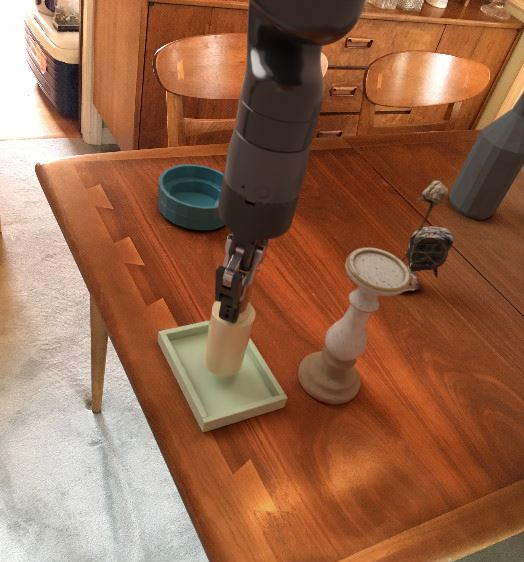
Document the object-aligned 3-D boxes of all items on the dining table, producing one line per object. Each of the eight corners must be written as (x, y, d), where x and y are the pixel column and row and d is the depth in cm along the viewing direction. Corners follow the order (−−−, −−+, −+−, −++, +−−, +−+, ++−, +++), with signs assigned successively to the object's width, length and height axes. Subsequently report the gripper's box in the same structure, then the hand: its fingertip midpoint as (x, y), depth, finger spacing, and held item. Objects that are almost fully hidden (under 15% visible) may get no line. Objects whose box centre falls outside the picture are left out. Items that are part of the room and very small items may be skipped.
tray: (157, 341, 76) (158, 331, 74) (233, 324, 81) (235, 314, 79) (202, 432, 67) (204, 423, 66) (284, 407, 72) (287, 397, 71)
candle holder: (327, 347, 81) (375, 235, 67) (370, 387, 78) (431, 278, 63) (284, 371, 77) (326, 256, 62) (329, 415, 73) (384, 304, 58)
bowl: (144, 216, 94) (145, 190, 90) (175, 180, 103) (178, 156, 99) (216, 242, 93) (221, 217, 89) (242, 204, 102) (247, 180, 98)
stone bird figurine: (431, 306, 93) (490, 204, 79) (366, 284, 93) (414, 179, 79) (433, 277, 99) (489, 178, 84) (372, 257, 99) (418, 154, 85)
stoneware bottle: (196, 367, 70) (211, 281, 60) (211, 340, 74) (228, 255, 63) (234, 382, 70) (256, 297, 60) (247, 354, 74) (270, 270, 63)
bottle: (501, 218, 118) (589, 74, 96) (468, 223, 114) (552, 73, 92) (471, 191, 124) (548, 49, 102) (438, 194, 119) (510, 47, 98)
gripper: (250, 135, 58) (225, 263, 70) (198, 199, 48) (180, 335, 60) (317, 158, 57) (280, 283, 70) (279, 229, 48) (244, 359, 60)
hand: (234, 307), depth 65 cm, fingers closed on stoneware bottle, 4 cm apart
